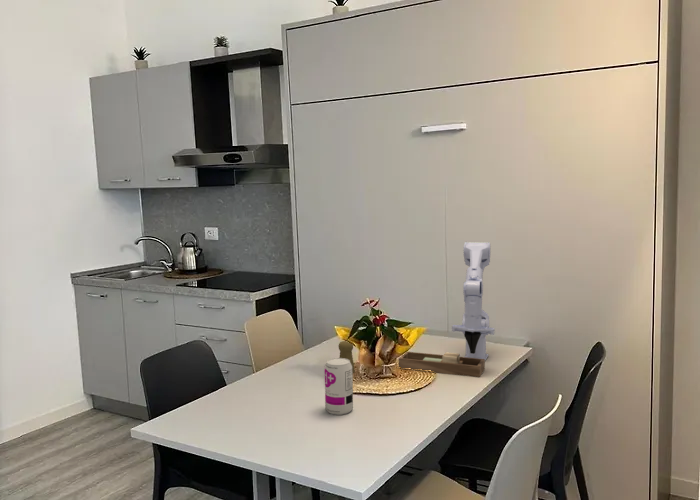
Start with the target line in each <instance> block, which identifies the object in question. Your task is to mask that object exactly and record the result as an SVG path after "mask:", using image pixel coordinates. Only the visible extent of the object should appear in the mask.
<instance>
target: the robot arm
mask: <svg viewBox="0 0 700 500" xmlns="http://www.w3.org/2000/svg"><path fill="white" fill-rule="evenodd" d="M463 260H464V264H465V266H468V267H467V269H466V273H465V281H464V282H463V286H462V290H463V291H462V292H463V293H462V294H463V302H464V312H463V314H462V320H461V324H452V326H451V332H462V334H463V336H464V338H465V356H464V357H469V358H479V359H485V361H486V360H487V359H488V357H489V354H488V353H487V338H486V337H487V336H488V335H492V336H493V335H495V332H496V331H495V327H490V315H489V313H487V312H486V311H485V310H483V295H484V282H483V281H484V280H483V279H484V277H483V276H484V270H485V269H486V267H488V266H489V265H490V263H491V243H490V241H487V242H484V241H483V242H481V241H480V242H475V241H474V242H473V241H471V242H469V241H465V242H464V243H463Z"/></svg>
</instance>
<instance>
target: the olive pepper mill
mask: <svg viewBox="0 0 700 500" xmlns="http://www.w3.org/2000/svg"><path fill="white" fill-rule="evenodd" d="M346 341H347V340H343V341H340V342H339V343H338V350H339V357H338V358H345V359H348V360H350V363H351V365H352V375H353V374H355V372H356V371H355V364H354V357H353V349H354V344H353V343H352V344H353V345H352V344H350V343H348V342H346Z"/></svg>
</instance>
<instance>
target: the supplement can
mask: <svg viewBox="0 0 700 500" xmlns="http://www.w3.org/2000/svg"><path fill="white" fill-rule="evenodd" d="M353 381H354V380H353V374H352V365H351V363H350V360H348V359H345V358H339V357H334V358H329V359H328V360H326V362H325V364H324V400H325V401H324V403H325V410H326V411H327V412H328V413H329V414H331V415H334V416H335V415H336V416H337V415H338V416H340V415H341V416H342V415H347V414H349V413H351V411H352V410H353V409H354V393H353V391H354V390H353V384H354V383H353Z"/></svg>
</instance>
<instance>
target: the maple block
mask: <svg viewBox="0 0 700 500" xmlns="http://www.w3.org/2000/svg"><path fill="white" fill-rule="evenodd" d="M442 355H443V356H442V359H443V362H445V363H456V364H458V363H459V362H460V357H461V356H460V353H455V352H447V351H446V352H445V353H444V354H442Z"/></svg>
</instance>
